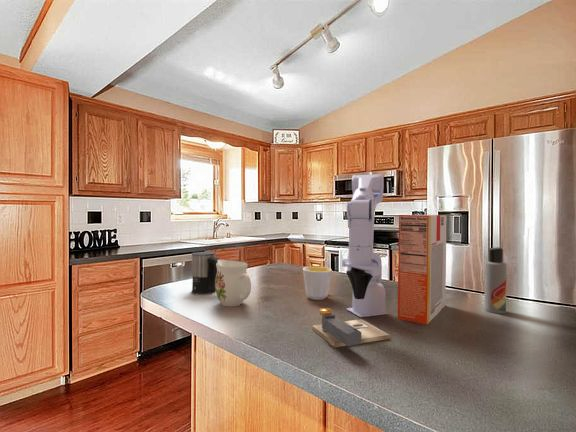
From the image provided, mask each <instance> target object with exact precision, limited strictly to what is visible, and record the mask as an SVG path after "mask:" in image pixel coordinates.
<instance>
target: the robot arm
mask: <svg viewBox="0 0 576 432" xmlns="http://www.w3.org/2000/svg"><path fill="white" fill-rule="evenodd" d="M351 177H352V178H351V190H352V198H351V199H350V201H347V204H346V217H347V228H348V258H342V260H341V263H342V264H341V267H346V268H347V270H346V272H345V273H346V275H347V279H348V280H349V282H350V283H351V288H352V307H348V308H346V311H349V312H350V313H352V314H353V315H355V316H357V317H359V318H366V317H367V318H368V317H375V316H381V315H387V314H388V312H387V311H386V305H387V304H386V299H387V297H386V295H387V294H386V289H385V287H384V284H382V277H383V275H382V274H383V269H382V268H383V267H382V258H381V257H380V255H378V254H377V253H376V252H374V230H375V212H376V209H377V205H378V204H380V203H382V202H383V198H384V188H385V187H384V186H385V185H384V182H385V181H384V175H383V173H380V174H379V173H378V174H377V173H376V174H373V173H372V174H371V173H370V174H355V173H354V174H353V175H352V176H351Z"/></svg>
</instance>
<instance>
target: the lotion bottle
mask: <svg viewBox="0 0 576 432" xmlns="http://www.w3.org/2000/svg"><path fill="white" fill-rule="evenodd" d="M507 265H508V264H507V263H505V262H504V249H503V248H502V247H489V248H488V261H486V262H484V299H483V300H484V301H483V302H484V305H483V307H484V310H485V311H486V312H489V313H492V312H493V313H492V314H505V313H506V311H507V271H508V270H507Z"/></svg>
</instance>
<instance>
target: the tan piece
mask: <svg viewBox="0 0 576 432" xmlns="http://www.w3.org/2000/svg"><path fill="white" fill-rule="evenodd" d="M321 316H322V317H324V315H321ZM322 317H321V318H322ZM343 321H344V320H343ZM344 322H346V323H347V324H349V325H350V326H352V327H354V328H355V329H357V330H359V331H360V332H361V344H364V343H371V342H377V341H383V340H389V339H390V334H389V333H387V332H385V331H384V330H382V329H379V328H378V327H376V326H375V325H372V324H371V323H369V322H367V321H366V320H364V319H363V318H362V319H361V318H359V319H354V320H353V319H352V320H346V321H344ZM312 330H313V331H314V332H315V333H316V334H317V335H318V336H320V337H321V338H322V339H324V341H325V342H327V343H329V344H330V345H331V346H332V347H333V348H340V347H341V348H342V347H347V346H346V345H345V344H344V343H342V342H341V341H340V340H338V339H337V338H335V337H334V336H333V335H331V334H330V333H329V332H327V331H326V330H324V329H323V328H322V323H321V324H314V325H312Z"/></svg>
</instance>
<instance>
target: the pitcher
mask: <svg viewBox="0 0 576 432" xmlns="http://www.w3.org/2000/svg"><path fill="white" fill-rule="evenodd" d="M217 261H218V262H217V263H216V267H217V274H216V278H215V290H216V291H215V294H216V296H217V300H218V301H219V303H220V304H221V306H223V305H224V307H236V305H238V306H240V304H241V305H242V304H243V303H244V301H245V300H248V298H249V297H250V295H251V291H252V290H251V289H252V281H251V278H250V276H249V275H248V273H247V269H248V263H247V262H245V261H244V262H243V261H237V260H229V259H220V260H217Z"/></svg>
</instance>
